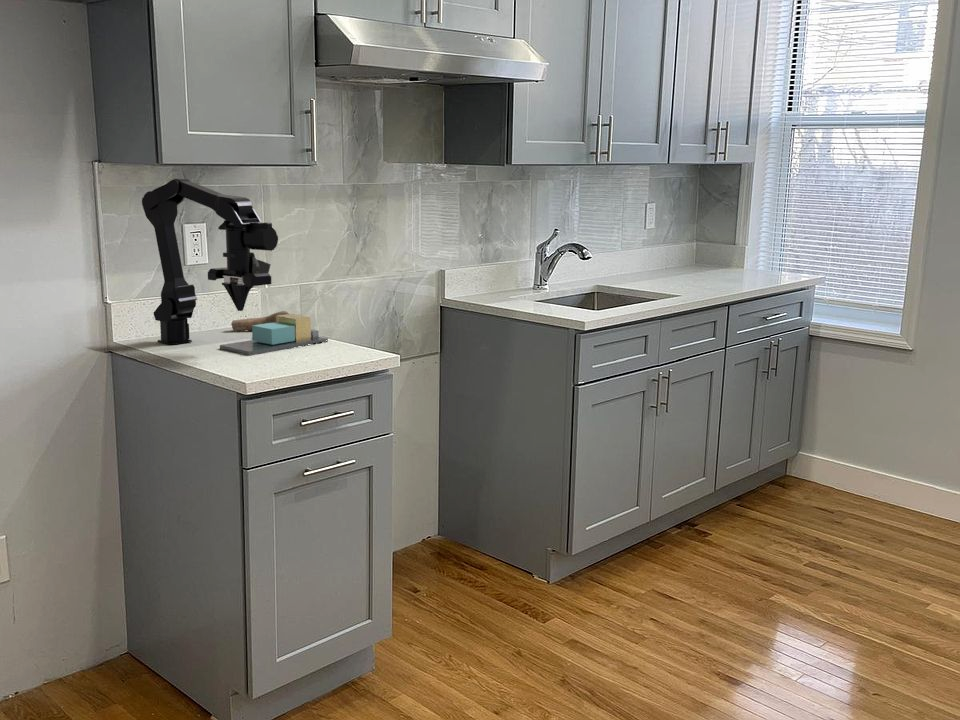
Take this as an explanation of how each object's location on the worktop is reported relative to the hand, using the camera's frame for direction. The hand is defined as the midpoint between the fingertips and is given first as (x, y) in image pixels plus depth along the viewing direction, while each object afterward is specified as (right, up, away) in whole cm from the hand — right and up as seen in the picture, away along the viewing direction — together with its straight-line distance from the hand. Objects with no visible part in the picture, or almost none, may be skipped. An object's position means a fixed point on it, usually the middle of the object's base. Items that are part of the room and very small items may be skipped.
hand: (240, 310), depth 238 cm
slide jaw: (+6, -7, +10) cm, 14 cm away
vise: (+7, -9, +11) cm, 15 cm away
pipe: (-1, -5, +30) cm, 31 cm away
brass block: (+10, -7, +15) cm, 20 cm away
